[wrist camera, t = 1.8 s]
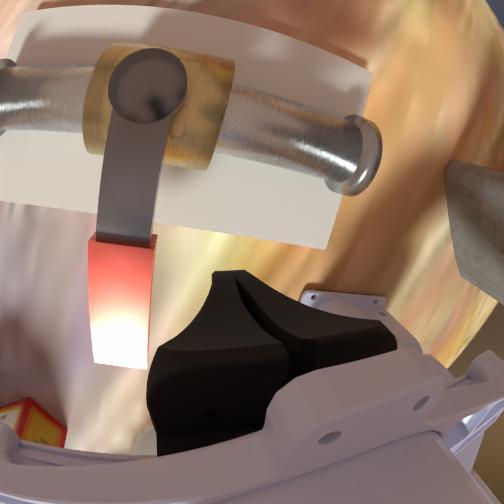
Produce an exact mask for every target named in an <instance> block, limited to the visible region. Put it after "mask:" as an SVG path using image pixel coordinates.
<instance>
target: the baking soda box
mask: <svg viewBox="0 0 504 504" xmlns="http://www.w3.org/2000/svg"><path fill="white" fill-rule="evenodd" d="M0 421H2V422H4V423H6V424H7V425H9V426H10V427H11V428H12V429H13V430H14V431H15V432H16V434H17V435H18V437H19V438H20V439H21V440H25V441H29V442H34V443H38V444H43V445H48V446H54V447H59V448H64V445H65V440H66V435H67V430H68V429H66V428H65V427H64V426H63V425H61V424H60V423H59V422H58V421H56V420H55V419H54V418H53V417H52V416H50V415H49V414H48V413H47V412H46V411H45V410H43V409H42V408H41V407H40V406H39V405H38V404H37V403H36V402H35V401H33V400H32V399H31V398H30V397H28V398H26V399H23V400H20V401H17V402H14V403H11V404H9V405H6V406H3V407H0Z"/></svg>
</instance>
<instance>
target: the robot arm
mask: <svg viewBox="0 0 504 504" xmlns="http://www.w3.org/2000/svg"><path fill="white" fill-rule="evenodd" d="M313 295H315V296H314V297H313V298H311V297H312V296H313ZM385 304H386V298H385V297H383V296H372V295H359V294H348V293H336V292H326V291H315V290H306V291H304V292H303V293H302V295H301V298H300V301H299V302H298V301H295V300H293V299H291V298H289V297H287V296H285V295H283V294H282V293H280V292H278V291H276V290H275V289H273V288H271V287H270V286H268V285H267V284H265V283H263V282H262V281H260V280H259V279H258V278H256V277H255V276H253V275H252V274H250V273H249V272H247V271H245V270H233V271H215V272H213V273H212V285H211V288H210V291H209V294H208V296H207V299H206V301H205V303H204V305H203V306H202V308H201V310H200V311H199V313H198V314H197V316H196V317H195V318H194V319H193V321H192V322H191V323H190V324H189V325H188V326H187V327H186V328H185V329H184V330H183V331H182V332H181V333H180V334H178V335H177V336H176V337H174V338H173V339H171V340H169V341H168V342H166V343H164V344H163V345H161V346H159V347H158V348H157V351H156V353H155V356H154V358H153V361H152V364H151V367H150V371H149V375H148V380H147V392H146V400H147V407H148V411H149V414H150V417H151V420H152V423H153V425H154V428H155V431H156V434H157V455H123V454H108V453H97V452H87V451H79V450H72V449H65V448H59V447H54V446H48V445H43V444H38V443H34V442H29V441H25V440H21V439H20V438H19V437H18V435H17V434H16V432H15V431H14V430H13V429H12V428H11V427H10V426H9V425H7V424H6V423H4V422H2V421H0V504H501V503H500V502H499V501H498V500H497V498H496V497H495V496H494V495H493V493H492V492H491V491H490V489H489V488H488V487H487V486H486V484H485V483H484V482H483V481H482V480H481V478H480V477H479V476H478V475H477V473H476V472H475V471H474V470H473V469H472V467H473V464H474V461H475V458H476V455H477V453H478V450H479V447H480V444H481V441H482V438H483V435H484V432H485V429H487V428H488V427H489V426H490V425H491V424H492V423H493V422H495V420H496V419H497V418H498V417H499V415H500V414H501V413H502V411H503V410H504V362H503V361H502V360H501V359H500V358H499V357H498V356H497V355H496V354H494V353H493V352H492V351H491V350H488V351H486V352H484V353H483V354H481V355H479V356H478V357H477V358H475V359H474V361H473V362H472V364H471V365H470V367H469V369H468V371H467V373H466V374H464V375H463V376H461V377H459V378H457V379H455V378H454V376H453V375H452V374H451V373H450V372H449V371H448V370H447V369H446V368H445V367H444V366H443V365H442V364H441V363H440V362H439V361H438V360H437V359H436V358H435V357H433V356H432V355H431V354H423V352H422V349H421V346H420V344H419V342H418V341H417V339H416V338H415V337H414V336H413V335H412V334H411V333H410V332H409V331H408V330H406V329H405V328H404V327H403V326H402V325H401V324H400V323H399V322H398V321H397V320H396V319H395V318H394V317H393V316H392V315H391V314H390V313H389V312H388V311H386V310H385V309H384V306H385Z"/></svg>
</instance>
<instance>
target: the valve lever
mask: <svg viewBox="0 0 504 504" xmlns="http://www.w3.org/2000/svg"><path fill="white" fill-rule="evenodd" d="M186 92H187V73H186V70H185V67H184V65H183V63H182V62H181V61H180V59H179V58H178V57H176V56H175V55H174V54H172V53H171V52H169V51H166V50H163V49H159V48H146V49H141V50H138V51H136V52H133V53H131V54H130V55H128V56H126V57H125V58H124V59H123V60H122V61H121V62H120V63H119V64H118V65H117V66H116V67H115V69H114V70H113V72H112V74H111V76H110V79H109V83H108V97H109V101H110V103H111V106H112V107H113V109H112V113H111V118H110V123H109V128H108V134H107V139H106V145H105V151H104V158H103V165H102V172H101V180H100V189H99V199H98V211H97V226H96V232H95V233H94V235H93V236H92V237H91V238H90V239H89V241H88V288H89V309H90V323H91V335H92V344H93V353H94V361H95V362H97V363H103V364H110V365H117V366H124V367H131V368H140V369H147V362H148V349H149V327H150V310H151V295H152V283H153V272H154V261H155V252H156V243H157V235H156V234H152V231H153V223H154V216H155V208H156V202H157V195H158V188H159V182H160V176H161V170H162V165H163V159H164V154H165V149H166V144H167V139H168V134H169V129H170V125H171V120H172V116H173V115H174V114H175V113H176V112H177V111H178V110H179V109H180V108H181V106H182V104H183V102H184V100H185V97H186Z"/></svg>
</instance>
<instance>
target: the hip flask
mask: <svg viewBox="0 0 504 504" xmlns="http://www.w3.org/2000/svg"><path fill="white" fill-rule="evenodd" d="M444 177H445V188H446V198H447V206H448V214H449V222H450V228H451V235H452V241H453V247H454V252H455V257H456V261H457V265H458V269H459V272H460V275H461V277H463V278H464V279H466V280H467V281H469V282H470V283H472V284H474V285H475V286H477V287H478V288H480V289H481V290H483V291H484V292H485V293H487V294H488V295H490V296H491V297H493V298H494V299H496V300H497V301H498V302H500V303H501V304H503V305H504V173H503V172H499V171H496V170H492V169H489V168H485V167H481V166H477V165H473V164H469V163H465V162H460V161H456V160H452V161H450V162H449V163H448V165H447V167H446V169H445V176H444Z"/></svg>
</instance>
